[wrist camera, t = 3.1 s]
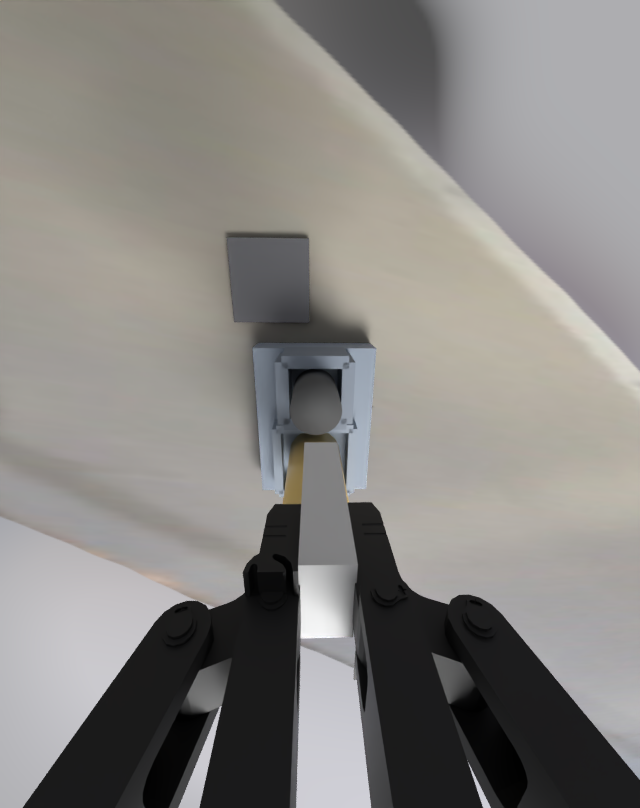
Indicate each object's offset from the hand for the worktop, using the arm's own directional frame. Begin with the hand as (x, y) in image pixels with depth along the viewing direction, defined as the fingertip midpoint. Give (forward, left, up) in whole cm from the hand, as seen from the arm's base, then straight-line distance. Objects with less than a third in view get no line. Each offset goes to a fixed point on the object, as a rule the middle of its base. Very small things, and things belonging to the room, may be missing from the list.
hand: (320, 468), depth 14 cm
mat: (-9, -4, -18) cm, 20 cm away
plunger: (0, 0, -12) cm, 12 cm away
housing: (+4, 0, -18) cm, 18 cm away
